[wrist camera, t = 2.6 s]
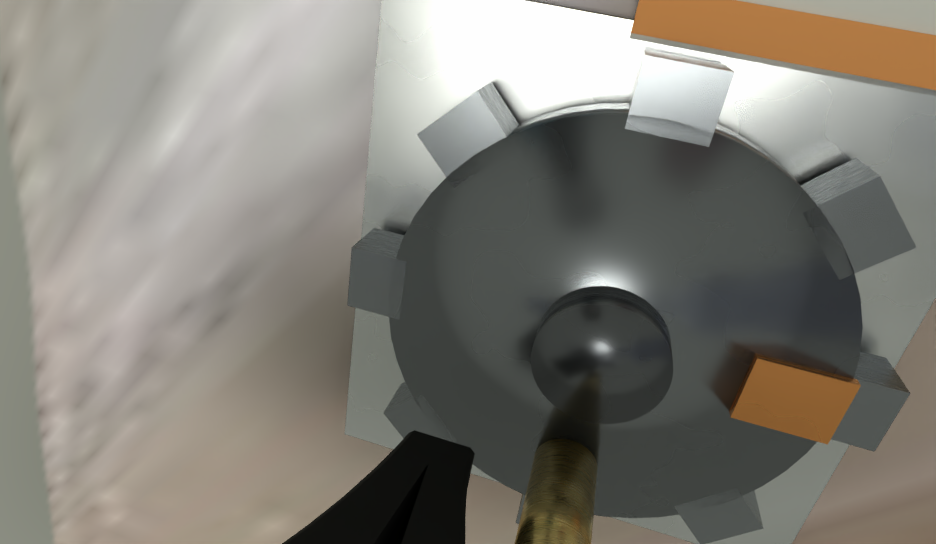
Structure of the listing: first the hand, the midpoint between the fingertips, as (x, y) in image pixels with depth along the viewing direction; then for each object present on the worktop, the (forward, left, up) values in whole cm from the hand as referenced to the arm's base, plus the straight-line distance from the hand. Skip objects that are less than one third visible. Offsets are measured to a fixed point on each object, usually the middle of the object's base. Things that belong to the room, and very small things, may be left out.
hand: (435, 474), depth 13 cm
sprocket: (-3, -3, -3) cm, 5 cm away
